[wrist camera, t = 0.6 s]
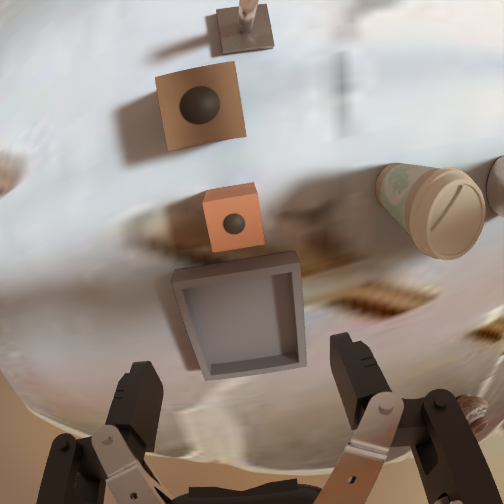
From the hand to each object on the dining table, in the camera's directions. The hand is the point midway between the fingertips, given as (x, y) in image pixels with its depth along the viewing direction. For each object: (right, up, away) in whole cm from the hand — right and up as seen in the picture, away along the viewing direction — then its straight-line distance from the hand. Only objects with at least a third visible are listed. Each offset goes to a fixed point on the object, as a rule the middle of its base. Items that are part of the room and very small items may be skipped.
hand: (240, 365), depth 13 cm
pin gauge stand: (0, +27, +12) cm, 30 cm away
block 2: (-1, +10, +20) cm, 22 cm away
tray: (0, -3, +26) cm, 26 cm away
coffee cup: (+17, +13, +20) cm, 29 cm away
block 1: (-4, +19, +15) cm, 25 cm away
